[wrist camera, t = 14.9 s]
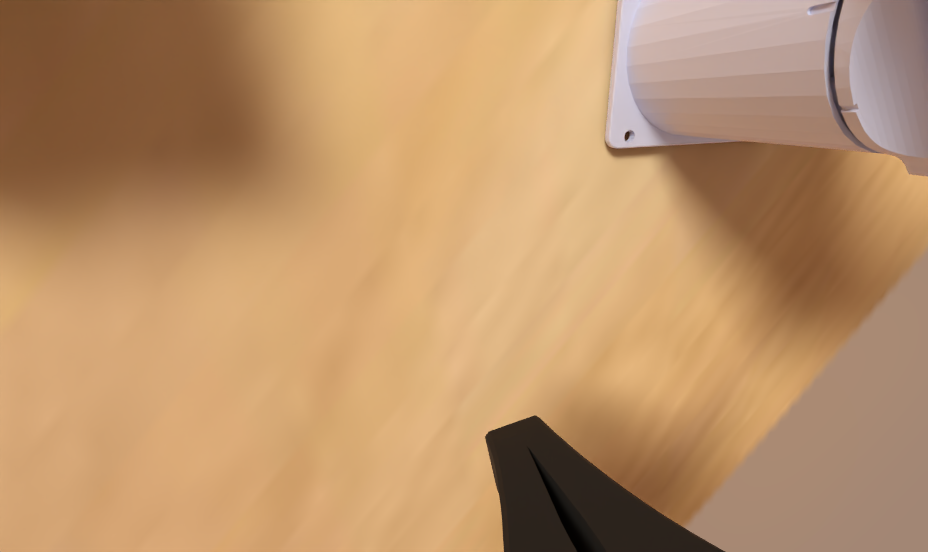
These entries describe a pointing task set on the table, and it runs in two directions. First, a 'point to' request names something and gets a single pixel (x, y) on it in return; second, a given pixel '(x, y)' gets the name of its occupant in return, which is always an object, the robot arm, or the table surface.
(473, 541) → the table surface
